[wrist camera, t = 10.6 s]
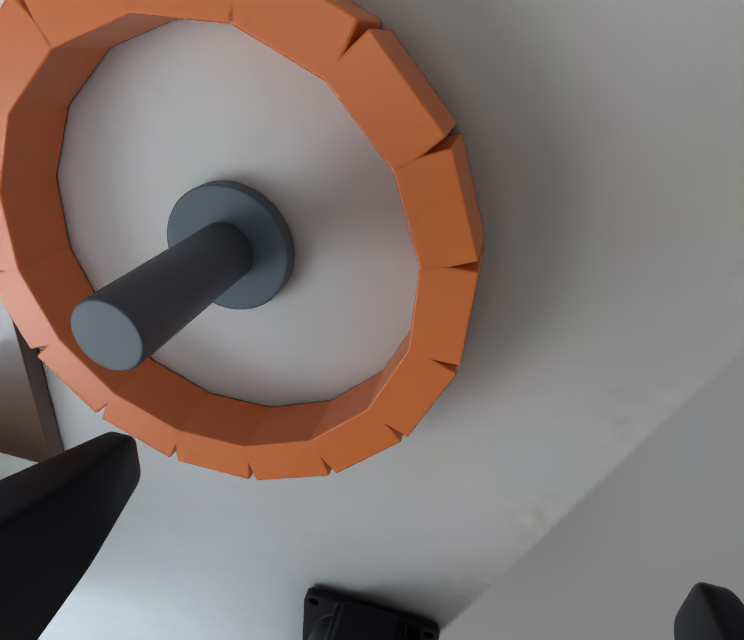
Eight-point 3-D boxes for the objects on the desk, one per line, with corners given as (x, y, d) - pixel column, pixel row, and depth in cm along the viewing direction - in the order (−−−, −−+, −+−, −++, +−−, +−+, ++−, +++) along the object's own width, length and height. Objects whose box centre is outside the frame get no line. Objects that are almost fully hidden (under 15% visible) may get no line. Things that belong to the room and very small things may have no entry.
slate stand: (293, 312, 19) (197, 429, 13) (181, 290, 20) (45, 391, 14) (295, 191, 17) (182, 267, 11) (170, 171, 18) (5, 233, 12)
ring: (437, 478, 21) (428, 526, 19) (68, 388, 24) (25, 421, 22) (537, -22, 13) (540, -32, 11) (-37, -68, 16) (-121, -84, 14)
